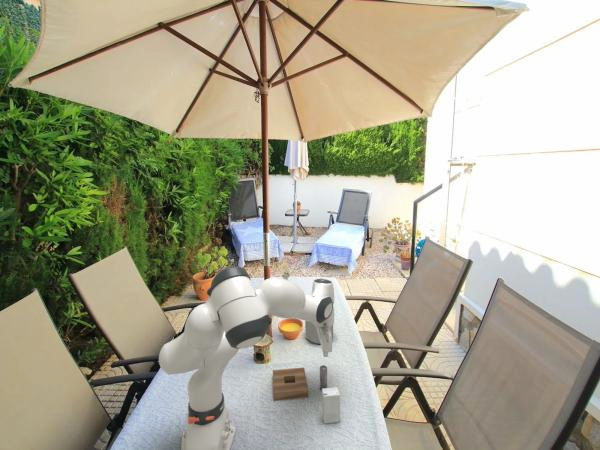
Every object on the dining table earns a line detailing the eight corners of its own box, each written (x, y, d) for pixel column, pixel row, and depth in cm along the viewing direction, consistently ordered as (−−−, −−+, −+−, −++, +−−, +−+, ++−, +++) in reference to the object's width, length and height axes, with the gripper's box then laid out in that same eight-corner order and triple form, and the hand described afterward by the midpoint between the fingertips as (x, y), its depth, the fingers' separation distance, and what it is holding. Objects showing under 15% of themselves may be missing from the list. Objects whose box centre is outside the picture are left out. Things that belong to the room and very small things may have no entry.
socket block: (308, 397, 131) (308, 389, 130) (273, 400, 130) (273, 393, 129) (304, 374, 145) (304, 367, 144) (273, 377, 143) (272, 370, 143)
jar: (335, 350, 162) (335, 304, 156) (305, 350, 162) (304, 304, 156) (331, 330, 180) (331, 288, 175) (305, 330, 180) (304, 288, 175)
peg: (327, 390, 134) (327, 369, 132) (320, 391, 134) (320, 370, 132) (326, 385, 137) (326, 365, 135) (319, 386, 137) (319, 365, 135)
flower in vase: (276, 292, 230) (275, 259, 225) (291, 290, 234) (290, 257, 228) (281, 300, 218) (279, 264, 213) (297, 297, 222) (296, 262, 216)
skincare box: (337, 413, 123) (338, 385, 120) (340, 423, 118) (340, 394, 116) (321, 415, 122) (321, 387, 119) (323, 424, 118) (323, 396, 115)
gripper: (336, 331, 119) (336, 364, 122) (326, 305, 138) (326, 334, 141) (319, 332, 118) (319, 365, 121) (311, 306, 138) (312, 335, 141)
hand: (323, 348), depth 131 cm, fingers open, 8 cm apart
